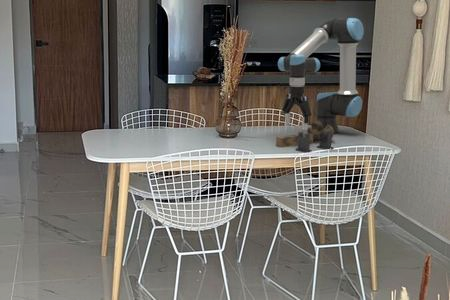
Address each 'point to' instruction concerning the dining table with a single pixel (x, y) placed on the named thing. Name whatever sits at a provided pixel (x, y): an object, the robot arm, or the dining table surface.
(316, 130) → the decorative stone
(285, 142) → the rail
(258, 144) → the dining table surface
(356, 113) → the robot arm
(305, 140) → the standards
